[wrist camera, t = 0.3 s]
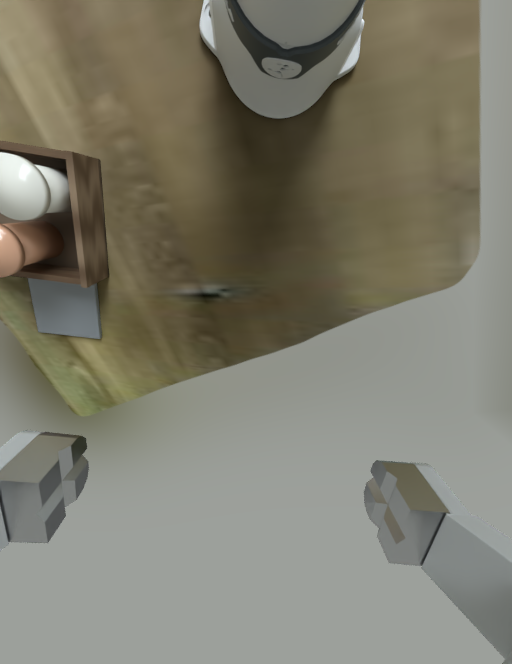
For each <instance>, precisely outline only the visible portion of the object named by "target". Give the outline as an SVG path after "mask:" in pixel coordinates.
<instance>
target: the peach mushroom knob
mask: <svg viewBox="0 0 512 664" xmlns="http://www.w3.org/2000/svg"><path fill="white" fill-rule="evenodd" d="M63 248H64V241H63V237H62V235H61V233H60V232H59V231H58V229H57V228H56V227H54V226H53V225H52V224H50V223H48V222H45V221H29V222H18V223H6V224H1V223H0V278H1V277H6V276H9V275H13V274H15V273H17V272H19V271H20V270H21V269H22V268H23V266H25V265H29V264H32V263H36V262H39V261H43V260H46V259H50V258H53V257H56V256H58V255H60V254H61V253H62V251H63Z"/></svg>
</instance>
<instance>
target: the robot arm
mask: <svg viewBox="0 0 512 664" xmlns="http://www.w3.org/2000/svg"><path fill="white" fill-rule="evenodd" d="M364 2H365V0H204V2H203V7H202V12H201V17H200V34H201V37H202V39H203V41H204V42H205V44H206V45H207V46H208V48H209V49H210V50H211V51H212V52H213V53H214V54H215V55H216V56H217V57H218V59H219V61H220V63H221V65H222V67H223V70H224V72H225V75H226V77H227V80H228V82H229V84H230V86H231V87H232V89H233V91H234V92H235V94H236V95H237V96H238V98H239V99H240V100H241V101H242V102H243V103H244V104H245V105H246V106H247V107H248V108H250V109H251V110H253V111H254V112H256V113H258V114H260V115H263V116H266V117H270V118H288V117H292V116H295V115H298V114H300V113H302V112H304V111H305V110H307V109H308V108H309V107H311V106H312V105H313V104H314V103H315V102H316V101H317V100H318V99H319V98H320V97H321V96H322V94H323V93H324V92H325V91H326V89H327V88H328V87H329V86H330V84H331V83H332V82H333V81H335V80H337V79H339V78H340V77H342V76H344V75H345V74H347V73H348V72H350V71H351V70H352V69H353V68H354V66H355V65H356V63H357V61H358V58H359V52H360V40H361V32H362V30H363V27H364V20H363V19H362V15H363V5H364ZM210 14H211V18H210V17H209V16H210ZM86 449H87V443H86V438H85V437H83V436H78V435H69V434H60V433H50V432H37V431H28V430H25V431H22V432H19V433H17V434H16V435H15V436H14V437H13V438H11V439H10V440H9V441H8V442H7V443H5V444H4V445H3V446H2V447H1V448H0V550H2V549H3V548H5V547H6V546H7V545H8V544H9V542H27V543H28V542H29V543H48V542H49V541H50V539H51V537H52V536H53V535H54V533H55V531H56V530H57V529H58V527H59V525H60V524H61V523H62V521H63V519H64V518H65V516H66V513H65V507H66V506H68V505H69V504H70V503H72V502H74V501H75V500H77V498H78V496H79V495H80V493H81V492H82V490H83V488H84V485H85V483H86V480H87V477H88V470H89V465H88V461H87V459H86V458H85V457H84V456H83V455H82V454H83V453H84V452H85V450H86ZM371 473H372V475H373V478H372V479H371V480H370V481H368V482H367V483H366V487H365V491H364V501H365V502H364V503H365V507H366V511H367V513H368V516H369V518H370V520H371V521H372V522H373V523H374V524H375V525H376V526H377V527H378V528H379V531H378V535H377V537H378V539H379V542H380V544H381V546H382V548H383V551H384V553H385V555H386V557H387V560H388V562H389V563H394V564H404V565H415V566H422V569H423V570H424V572H425V573H426V574H427V575H428V576H429V577H430V578H431V579H432V580H433V581H434V582H435V583H436V585H437V586H438V587H439V588H440V589H441V590H442V591H443V592H444V593H445V594H446V595H447V596H448V598H449V599H450V600H451V601H452V602H453V603H454V604H455V605H456V606H457V607H458V608H459V609H460V611H461V612H462V613H463V614H464V615H465V616H466V617H467V618H468V619H469V620H470V621H471V623H472V624H473V625H474V626H475V627H476V628H477V629H478V630H479V631H480V632H481V633H482V634H483V636H484V637H485V638H486V639H487V640H488V641H489V642H490V643H491V644H492V645H493V646H494V648H496V650H497V651H498V652H499V653H500V654H501V655H502V656H503V657H504V658H505V660H504V662H503V663H502V664H512V539H511V538H509V537H508V536H506V535H505V534H504V533H502V532H500V531H499V530H498V529H496V528H495V527H493V526H492V525H490V524H489V523H487V522H486V521H484V520H483V519H481V518H480V517H478V516H474V515H471V514H470V513H469V511H468V510H467V509H466V508H465V506H464V505H463V504H462V503H461V501H460V500H459V499H458V498H457V496H456V495H455V494H454V493H453V492H452V490H451V489H450V488H449V487H448V485H447V484H446V483H445V482H444V480H443V479H442V478H441V477H440V475H439V474H438V473H437V472H436V471H435V469H434V468H433V467H432V466H430V465H429V464H426V463H406V462H393V461H378V460H377V461H375V462H374V463H373V465H372V468H371Z"/></svg>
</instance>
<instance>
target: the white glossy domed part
mask: <svg viewBox="0 0 512 664" xmlns="http://www.w3.org/2000/svg"><path fill="white" fill-rule="evenodd" d="M59 212H72V207H71V199H70V191H69V183H68V175H67V170H62V169H57V168H51V167H45V166H40V165H34V164H33V163H31V162H30V161H29V160H27V159H25V158H23V157H21V156H18V155H14V154H9V153H3V152H0V213H1V214H3V215H5V216H6V217H9V218H11V219H15V220H34V219H38V218H40V217H42V216H43V215H44V214H45V213H59Z"/></svg>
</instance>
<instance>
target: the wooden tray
mask: <svg viewBox="0 0 512 664" xmlns="http://www.w3.org/2000/svg"><path fill="white" fill-rule="evenodd" d="M0 152H3V153H9V154H14V155H18V156H21V157H23V158H25V159H27V160H29V161H30V162H31V163H33V164H34V165H40V166H45V167H51V168H57V169H62V170H67V175H68V183H69V191H70V199H71V207H72V212H59V213H45V214H44V215H43V216H42V217H40V218H38V219H34V220H15V219H11V218H9V217H6V216H5V215H3V214H1V213H0V223H1V224H6V223H18V222H29V221H45V222H48V223H50V224H52V225H53V226H54V227H56V228H57V229H58V231H59V232H60V233H61V235H62V237H63V241H64V248H63V251H62V253H61V254H60V255H58V256H56V257H53V258H50V259H46V260H43V261H39V262H36V263H32V264H29V265H25V266H23V268H22V269H21V270H20V271H19V272H17V273H15V274H13V275H9V276H16V277H24V278H32V279H40V280H48V281H56V282H64V283H72V284H80V285H81V287H84V288H88V287H90V286H92V285H94V284H96V283H98V282H99V281H101V280H103V279H105V278H107V277H109V269H108V256H107V243H106V230H105V217H104V204H103V191H102V179H101V166H100V160H99V159H96V158H92V157H89V156H85V155H82V154H78V153H75V152H71V151H61V150H55V149H49V148H42V147H36V146H30V145H24V144H18V143H12V142H6V141H0Z"/></svg>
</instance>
